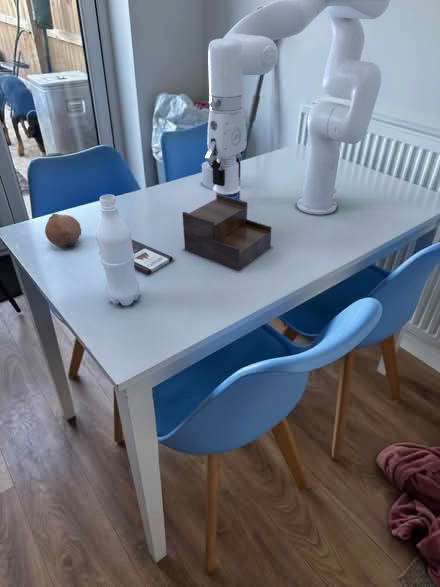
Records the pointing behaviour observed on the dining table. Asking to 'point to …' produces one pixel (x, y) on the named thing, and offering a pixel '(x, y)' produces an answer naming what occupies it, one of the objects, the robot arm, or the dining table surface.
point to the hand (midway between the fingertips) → (226, 180)
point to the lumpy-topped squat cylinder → (207, 175)
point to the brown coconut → (62, 230)
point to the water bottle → (116, 253)
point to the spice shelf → (225, 233)
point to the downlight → (229, 177)
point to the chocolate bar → (148, 258)
